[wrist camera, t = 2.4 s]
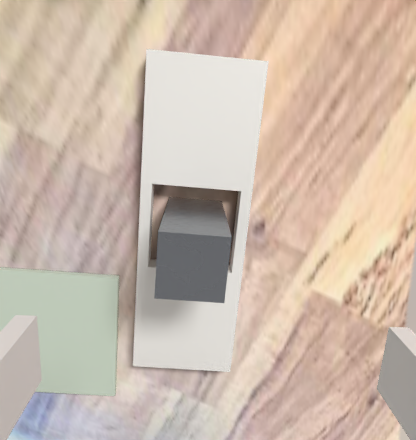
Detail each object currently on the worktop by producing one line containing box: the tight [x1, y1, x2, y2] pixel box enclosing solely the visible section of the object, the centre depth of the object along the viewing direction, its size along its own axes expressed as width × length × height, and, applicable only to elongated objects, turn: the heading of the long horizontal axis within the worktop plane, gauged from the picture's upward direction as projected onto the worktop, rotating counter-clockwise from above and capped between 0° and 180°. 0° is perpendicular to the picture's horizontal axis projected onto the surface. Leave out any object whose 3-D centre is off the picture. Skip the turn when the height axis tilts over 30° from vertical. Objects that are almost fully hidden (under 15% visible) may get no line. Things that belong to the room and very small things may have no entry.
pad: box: [0, 267, 119, 396], centre depth 39 cm, size 14×14×1 cm
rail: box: [133, 49, 268, 372], centre depth 36 cm, size 10×30×2 cm, turn 175°
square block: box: [154, 197, 232, 303], centre depth 32 cm, size 5×5×11 cm
